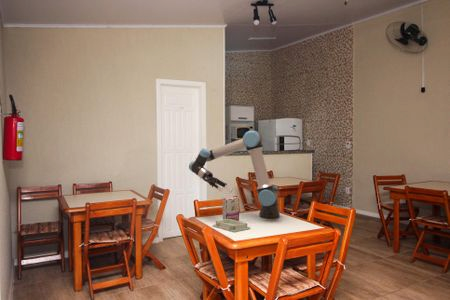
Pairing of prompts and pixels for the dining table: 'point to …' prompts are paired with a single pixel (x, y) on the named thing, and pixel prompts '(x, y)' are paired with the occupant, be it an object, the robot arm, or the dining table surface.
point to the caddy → (231, 225)
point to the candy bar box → (231, 208)
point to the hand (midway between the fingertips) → (226, 190)
